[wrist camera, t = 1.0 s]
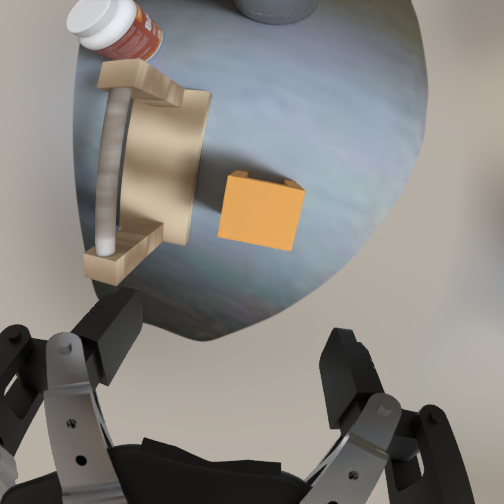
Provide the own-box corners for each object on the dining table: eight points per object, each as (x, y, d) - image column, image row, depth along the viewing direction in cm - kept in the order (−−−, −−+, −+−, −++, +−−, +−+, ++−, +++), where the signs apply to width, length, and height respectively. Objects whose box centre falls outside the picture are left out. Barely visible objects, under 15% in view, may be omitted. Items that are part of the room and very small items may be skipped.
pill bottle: (175, 39, 22) (132, -5, 11) (134, 77, 23) (75, 52, 13) (145, 15, 20) (100, -25, 10) (108, 51, 22) (51, 25, 11)
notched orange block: (237, 170, 27) (228, 175, 20) (295, 181, 27) (305, 190, 20) (228, 217, 28) (217, 236, 22) (285, 228, 29) (290, 251, 22)
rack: (142, 90, 24) (76, 66, 13) (212, 94, 24) (175, 57, 13) (125, 228, 29) (62, 269, 18) (188, 241, 30) (145, 293, 18)
